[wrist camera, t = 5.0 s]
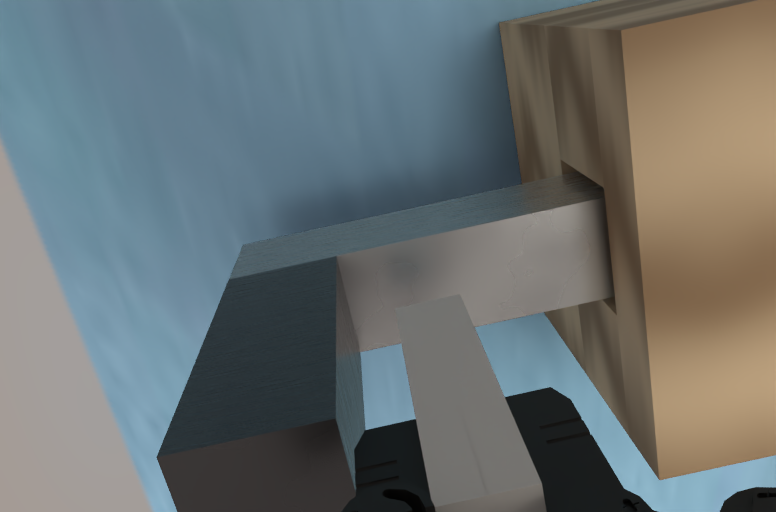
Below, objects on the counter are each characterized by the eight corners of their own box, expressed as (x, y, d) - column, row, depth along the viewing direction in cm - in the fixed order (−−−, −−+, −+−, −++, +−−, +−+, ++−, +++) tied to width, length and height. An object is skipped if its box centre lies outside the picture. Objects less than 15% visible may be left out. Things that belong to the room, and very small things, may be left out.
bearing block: (498, 22, 26) (620, 30, 15) (705, -23, 26) (984, -50, 15) (539, 305, 30) (659, 480, 19) (718, 266, 30) (945, 418, 19)
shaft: (243, 244, 22) (156, 457, 11) (1025, 73, 22) (1660, 130, 11) (268, 329, 23) (210, 595, 12) (1015, 166, 23) (1588, 296, 12)
